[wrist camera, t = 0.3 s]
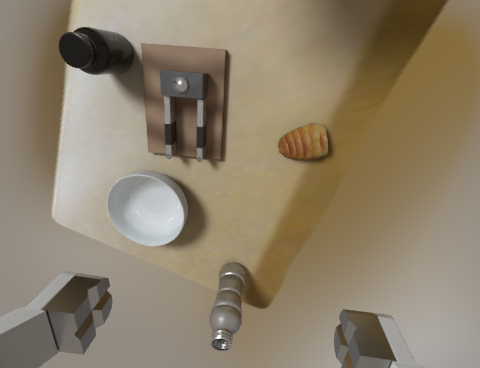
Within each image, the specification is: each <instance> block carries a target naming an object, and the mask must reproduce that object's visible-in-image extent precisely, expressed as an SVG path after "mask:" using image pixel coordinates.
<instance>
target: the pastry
mask: <svg viewBox="0 0 480 368" xmlns="http://www.w3.org/2000/svg"><path fill="white" fill-rule="evenodd" d="M278 146H279V152H280V153H281V154H282V155H283V156H285V157H290V158H292V159H304V160H308V159H311V158H314V159H318V158H319V157H321V156H326V155H327V153H328V138H327V131H326V127H325V126H324V125H322V124H314V123H312V124H309V125H306V126H302V127H299V128H297V129H295V130H293V131H291V132H289V133H287V134H285V135H284V136H283V137H282V138H281V139H280V141H279V143H278Z"/></svg>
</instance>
